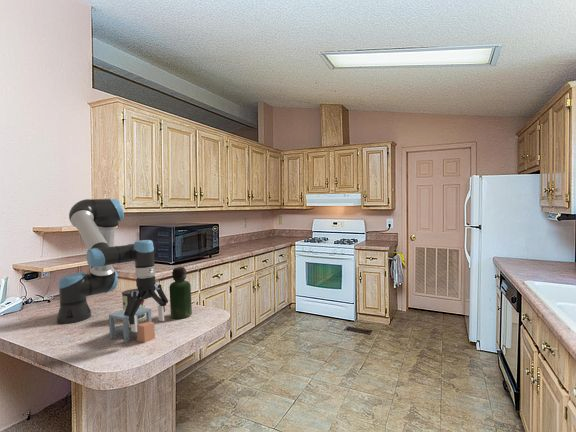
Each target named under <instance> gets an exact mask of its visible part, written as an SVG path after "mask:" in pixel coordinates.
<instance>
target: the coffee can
mask: <svg viewBox="0 0 576 432" xmlns="http://www.w3.org/2000/svg"><path fill="white" fill-rule="evenodd" d="M131 291H137V288H133V289H132V288H131V289H127V290H124V291H122V292H121V295H122V310H125V309H126V307H127V304H128V301H129V298H130V292H131ZM137 296H138V294H137ZM137 296H136V298H137ZM135 301H136V300H135ZM139 307H143V308H146V307H145V300H144V301H142V303H141V304H140V306H139ZM145 318H146V313H144V314H141V315H139V316H138V321H140V320H143V319H145ZM128 323H129V319H128Z"/></svg>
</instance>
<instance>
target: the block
mask: <svg viewBox="0 0 576 432" xmlns="http://www.w3.org/2000/svg"><path fill="white" fill-rule="evenodd" d="M154 339H156V331H155V322H153V321H152V322H149V321H147V320H145V321H143V322H140V323H138V324H137V340H136V341H137V342H139V343H143V344H146V343H148V342H150V341H153V340H154Z"/></svg>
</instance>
